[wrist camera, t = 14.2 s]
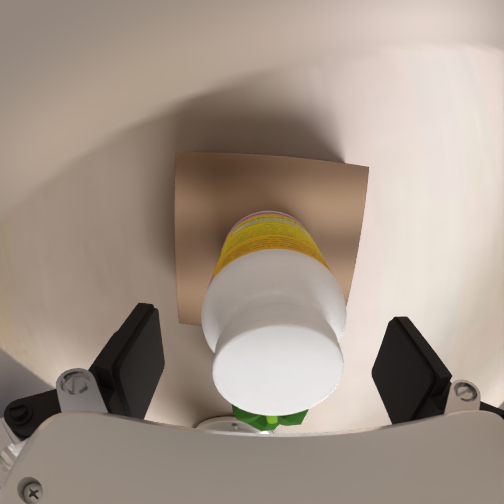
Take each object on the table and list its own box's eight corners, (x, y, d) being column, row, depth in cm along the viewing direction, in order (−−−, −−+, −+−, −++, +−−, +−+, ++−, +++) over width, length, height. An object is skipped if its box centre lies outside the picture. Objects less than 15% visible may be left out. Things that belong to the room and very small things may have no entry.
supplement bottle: (213, 219, 21) (153, 312, 8) (304, 200, 20) (369, 270, 8) (235, 300, 23) (216, 436, 10) (318, 284, 22) (368, 411, 10)
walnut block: (326, 300, 29) (340, 332, 23) (192, 292, 29) (178, 323, 23) (345, 164, 25) (369, 167, 19) (194, 152, 25) (175, 151, 19)
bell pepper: (294, 390, 34) (301, 452, 24) (231, 381, 33) (224, 445, 24) (314, 341, 31) (331, 405, 21) (243, 330, 31) (238, 396, 21)
